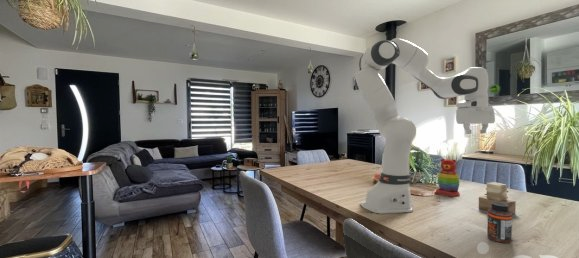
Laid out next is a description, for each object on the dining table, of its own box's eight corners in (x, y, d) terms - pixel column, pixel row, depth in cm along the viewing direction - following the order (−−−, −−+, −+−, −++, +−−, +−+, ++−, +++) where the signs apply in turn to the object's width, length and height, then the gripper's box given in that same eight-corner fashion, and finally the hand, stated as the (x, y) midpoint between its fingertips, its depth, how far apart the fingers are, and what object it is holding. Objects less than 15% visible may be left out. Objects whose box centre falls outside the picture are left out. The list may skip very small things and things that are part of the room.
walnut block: (502, 216, 98) (503, 203, 97) (478, 208, 106) (478, 196, 106) (515, 214, 100) (515, 201, 100) (490, 206, 108) (490, 195, 108)
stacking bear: (432, 193, 133) (433, 159, 132) (439, 190, 139) (440, 157, 139) (457, 198, 125) (457, 161, 124) (463, 194, 131) (463, 159, 131)
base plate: (502, 222, 95) (502, 218, 95) (470, 211, 107) (470, 208, 107) (524, 217, 99) (524, 214, 99) (491, 207, 111) (491, 205, 110)
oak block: (498, 201, 100) (498, 185, 100) (486, 197, 104) (486, 183, 104) (506, 199, 101) (506, 184, 101) (494, 196, 106) (494, 182, 105)
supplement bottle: (482, 235, 84) (482, 201, 84) (499, 234, 85) (499, 200, 85) (498, 244, 78) (499, 207, 78) (516, 243, 79) (517, 206, 79)
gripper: (485, 104, 125) (484, 132, 125) (453, 103, 118) (453, 134, 119) (499, 103, 119) (498, 133, 119) (466, 102, 112) (466, 134, 113)
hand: (475, 133), depth 119 cm, fingers open, 8 cm apart
